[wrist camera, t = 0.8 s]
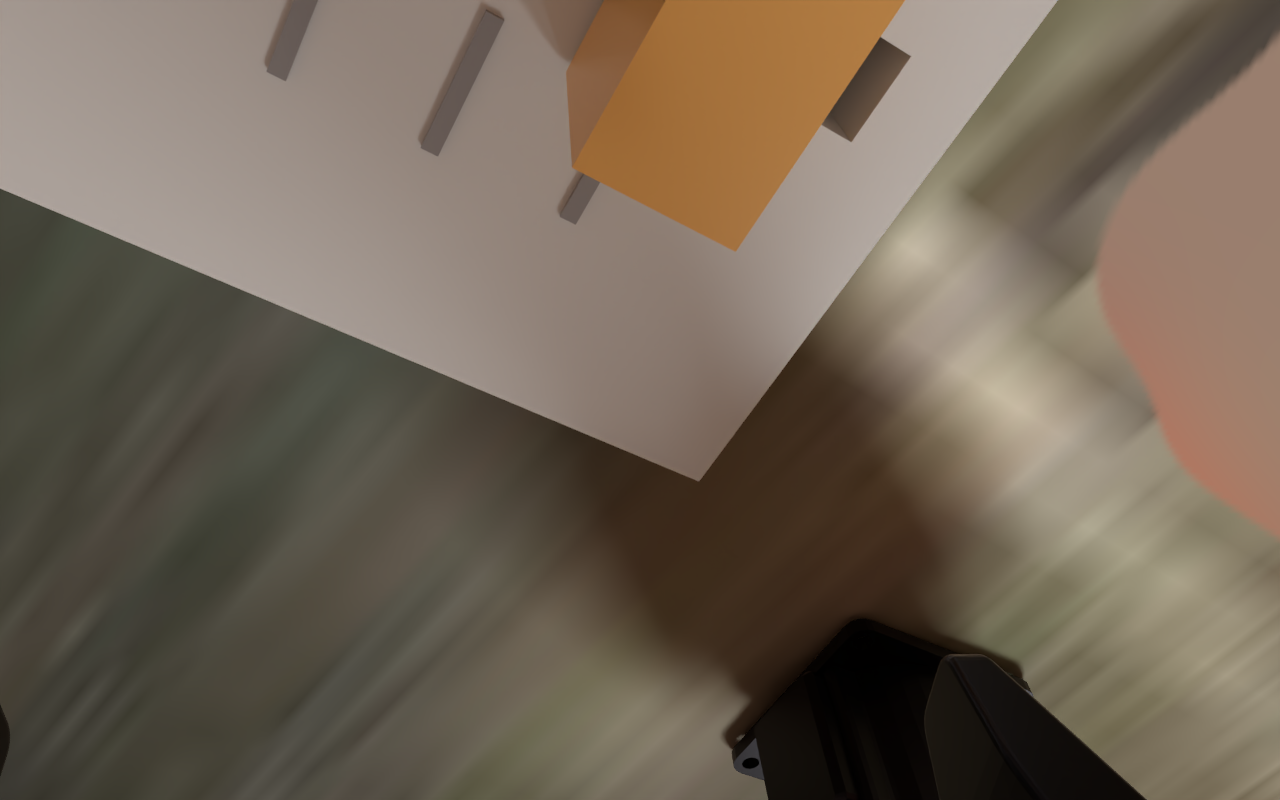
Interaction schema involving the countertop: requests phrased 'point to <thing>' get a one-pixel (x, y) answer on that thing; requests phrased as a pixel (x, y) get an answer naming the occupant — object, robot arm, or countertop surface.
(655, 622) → the countertop surface
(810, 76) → the fader knob
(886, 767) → the robot arm
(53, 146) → the console
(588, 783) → the countertop surface
